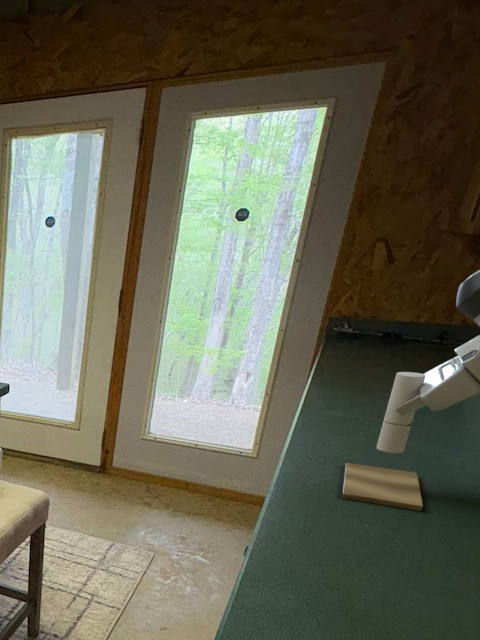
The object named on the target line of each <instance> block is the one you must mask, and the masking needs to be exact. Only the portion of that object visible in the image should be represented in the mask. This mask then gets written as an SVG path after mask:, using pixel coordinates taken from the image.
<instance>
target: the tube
mask: <svg viewBox="0 0 480 640" xmlns="http://www.w3.org/2000/svg"><path fill="white" fill-rule="evenodd" d="M425 376H426V375H424V373H420V372H413V371H398V372H396V374H395V377H394V381H393V385H392V388H391V393H390V396H389V399H388V403H387V407H386V409H385V414H384V418H383V422H382V426H381V429H380V432H379V437H378V439H377V444H376V450H378V451H379V452H380V451H381V452H385V453H388V454H389V453H390V454H402V453H404V452H405V448H406V446H407V442H408V439H409V436H410V431H411V427H412V423H413V421H414V417H415V415H416V411H417V410H414V411H411V412H410V413H408V414H406V415H404V416H401V415H400V414H399V413H398V412H397V411H396V407H397V406H399V405H401V404H403V403H406V402H408V401H410V400H412V399H414V398H415V397H416V396H418V395H420V387H421V386H422V385H423V383H424V380H425Z"/></svg>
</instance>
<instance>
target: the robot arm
mask: <svg viewBox="0 0 480 640" xmlns="http://www.w3.org/2000/svg"><path fill="white" fill-rule="evenodd" d="M455 302H456V303H455V306H456V309H458V310H459V311H460V312H461V313H462V314H464V315H465V316H466V317H467V318H468V319H469V320H470V321H473V322H474V323H475V324H476V325H477V326H478V327H479V328H480V269H479V270H477V271H475V272H473V273H472V274H471V275H469V276H468V277H467V278H466V279H465V280H464V281H462V282H461V283H460V284H459V286H458V290H457V293H456V301H455ZM454 352H455V354H456V356H455V357H452V358H451V359H448V360H446V361H445V362H443V363H441V364H439V365H437V366H436V367H433V368H432V369H430V370H427V371H426V372H424V373H423V374H424V375H426V376H425V380H424V383H423V385H422V386H421V387H420V395H418V396H416V397H415V398H414V399H412V400H410V401H408V402H406V403H403V404H401V405H399V406H397V407H396V411H397V412H398V413H399V414H400V415H401V416H404V415H406V414H408V413H410V412H411V411H414V410H416V411H418V410H420V409H423V408H425V407H428V408H429V409H430V411H432V412H439V411H442V410H445V409H447V408H449V407H452V406H454V405H456V404H459V403H461V402H463V401H466V400H467V399H469V398H472V397H473V396H477V395H478V394H479V393H480V334H479V335H477V336H475V337H474V338H472V339H470V340H468V341H467V342H465V343H463V344H462V345H460V346H458V347H456V348H455V349H454Z"/></svg>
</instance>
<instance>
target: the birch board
mask: <svg viewBox="0 0 480 640" xmlns="http://www.w3.org/2000/svg"><path fill="white" fill-rule="evenodd" d="M419 482H420V481H419V476H418V473H417V472H414V471H408V470H407V471H406V470H399V469H392V468H386V467H385V468H384V467H380V466H379V467H377V466H372V465H371V466H370V465H363V464H357V463H349V462H346V463H345V465H344V475H343V482H342V483H343V485H342V493H341V494H342V495H341V499H346V500H352V501H358V502H363V503H370V504H376V505H383V506H389V507H395V508H400V509H408V510H413V511H418V512H422V511H423V508H424V504H423V499H422V494H421V488H420V483H419Z"/></svg>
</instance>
